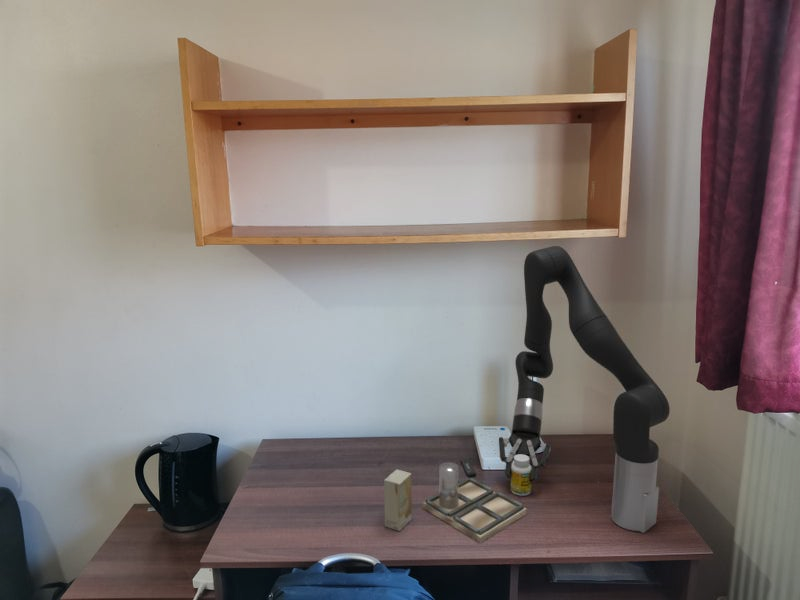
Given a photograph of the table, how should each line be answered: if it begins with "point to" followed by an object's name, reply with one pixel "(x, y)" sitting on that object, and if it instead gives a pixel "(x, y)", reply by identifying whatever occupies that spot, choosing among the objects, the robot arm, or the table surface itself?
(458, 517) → the wooden compartment tray
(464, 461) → the usb stick
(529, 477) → the supplement bottle
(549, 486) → the table surface
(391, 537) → the table surface
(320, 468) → the table surface
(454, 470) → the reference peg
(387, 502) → the skincare box
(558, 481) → the table surface
